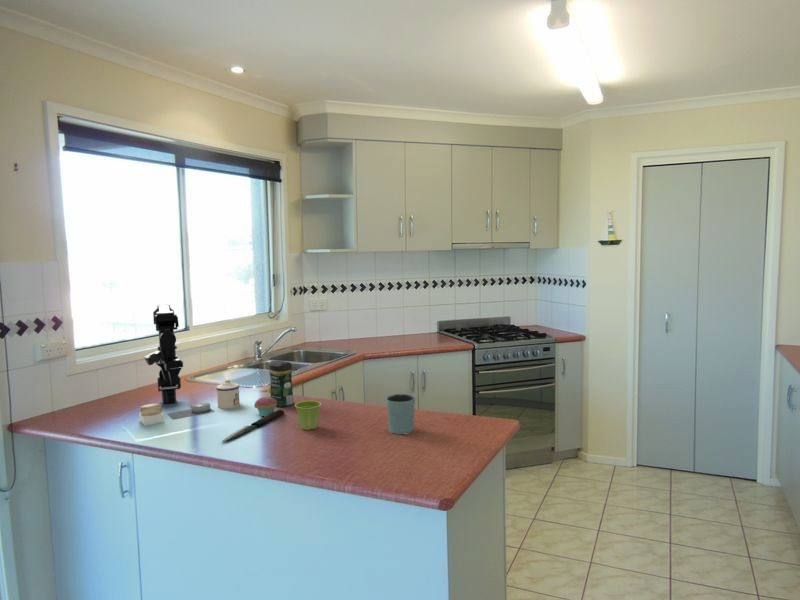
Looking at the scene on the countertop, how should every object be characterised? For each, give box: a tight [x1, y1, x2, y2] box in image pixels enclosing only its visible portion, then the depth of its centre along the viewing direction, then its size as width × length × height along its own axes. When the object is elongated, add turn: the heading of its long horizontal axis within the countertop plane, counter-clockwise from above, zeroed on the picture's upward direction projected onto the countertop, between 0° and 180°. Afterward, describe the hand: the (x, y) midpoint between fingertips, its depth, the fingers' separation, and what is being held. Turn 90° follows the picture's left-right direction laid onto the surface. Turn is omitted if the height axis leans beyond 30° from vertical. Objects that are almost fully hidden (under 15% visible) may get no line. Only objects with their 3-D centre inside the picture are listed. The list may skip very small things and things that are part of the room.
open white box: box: [138, 411, 165, 427], centre depth 211 cm, size 7×7×4 cm
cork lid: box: [140, 403, 163, 416], centre depth 210 cm, size 7×7×3 cm
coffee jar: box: [268, 359, 294, 408], centre depth 232 cm, size 10×8×19 cm
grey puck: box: [190, 402, 211, 413], centre depth 224 cm, size 7×7×2 cm
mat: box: [166, 407, 215, 421], centre depth 221 cm, size 10×16×1 cm, turn 127°
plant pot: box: [294, 400, 322, 431], centre depth 201 cm, size 9×9×9 cm
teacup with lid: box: [216, 378, 241, 410], centre depth 231 cm, size 12×9×12 cm
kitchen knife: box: [221, 409, 285, 443], centre depth 203 cm, size 36×2×5 cm
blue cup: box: [385, 393, 416, 435], centre depth 195 cm, size 10×10×12 cm
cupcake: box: [254, 386, 277, 418], centre depth 218 cm, size 9×8×12 cm
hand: (169, 382), depth 221 cm, fingers open, 9 cm apart
